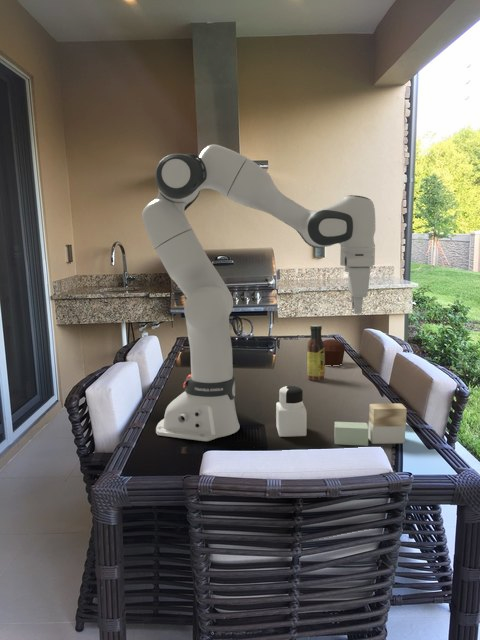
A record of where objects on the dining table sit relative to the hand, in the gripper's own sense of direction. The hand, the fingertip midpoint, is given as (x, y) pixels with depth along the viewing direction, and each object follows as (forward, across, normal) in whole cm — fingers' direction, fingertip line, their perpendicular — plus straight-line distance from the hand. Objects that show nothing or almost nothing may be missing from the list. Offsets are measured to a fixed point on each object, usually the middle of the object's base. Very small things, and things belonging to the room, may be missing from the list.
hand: (356, 310), depth 133 cm
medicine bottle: (+31, +9, -17) cm, 37 cm away
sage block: (+31, +14, -2) cm, 34 cm away
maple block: (+27, +12, +7) cm, 30 cm away
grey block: (+31, +12, +7) cm, 34 cm away
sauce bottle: (+31, -43, -11) cm, 54 cm away
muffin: (+31, -67, -5) cm, 74 cm away
